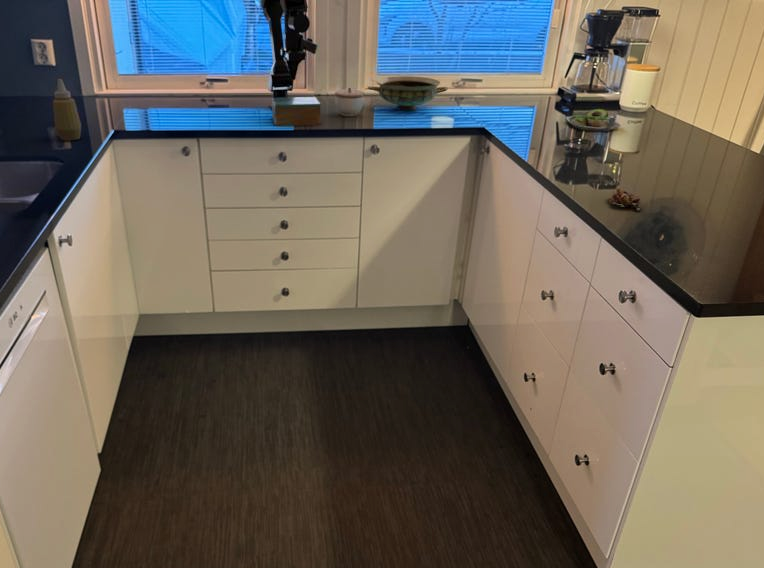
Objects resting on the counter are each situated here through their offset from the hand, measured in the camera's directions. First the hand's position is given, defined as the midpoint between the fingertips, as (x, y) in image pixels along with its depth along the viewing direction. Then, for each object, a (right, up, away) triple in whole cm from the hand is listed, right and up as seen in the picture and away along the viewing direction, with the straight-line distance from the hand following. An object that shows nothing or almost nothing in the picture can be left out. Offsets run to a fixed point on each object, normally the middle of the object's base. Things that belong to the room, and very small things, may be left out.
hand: (293, 79), depth 243 cm
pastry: (+85, -60, -71) cm, 126 cm away
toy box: (+1, -14, +2) cm, 14 cm away
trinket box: (+20, -8, +12) cm, 25 cm away
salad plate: (+105, -17, 0) cm, 107 cm away
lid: (+1, -9, -2) cm, 9 cm away
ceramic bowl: (+43, -2, +22) cm, 48 cm away
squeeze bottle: (-71, -28, -21) cm, 79 cm away
